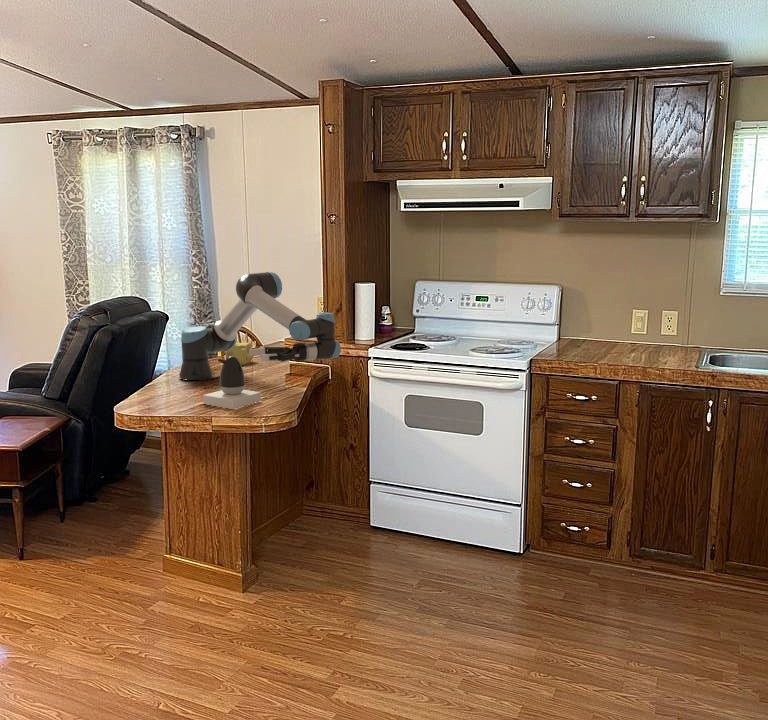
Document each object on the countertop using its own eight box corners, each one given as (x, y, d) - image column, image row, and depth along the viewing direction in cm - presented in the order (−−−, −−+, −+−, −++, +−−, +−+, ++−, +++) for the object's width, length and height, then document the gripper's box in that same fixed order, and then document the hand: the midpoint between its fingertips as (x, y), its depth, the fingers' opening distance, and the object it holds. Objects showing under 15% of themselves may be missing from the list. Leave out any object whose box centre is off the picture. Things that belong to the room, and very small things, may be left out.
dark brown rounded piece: (217, 392, 323) (215, 354, 320) (243, 390, 326) (241, 353, 324) (221, 397, 313) (220, 359, 311) (247, 395, 317) (246, 357, 314)
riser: (203, 404, 318) (203, 395, 317) (231, 397, 331) (230, 387, 331) (233, 410, 310) (233, 399, 309) (260, 401, 323) (260, 392, 322)
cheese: (244, 365, 403) (244, 345, 401) (224, 364, 405) (224, 344, 403) (252, 361, 413) (251, 342, 411) (232, 360, 415) (232, 341, 413)
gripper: (316, 366, 321) (265, 370, 311) (293, 355, 343) (245, 359, 333) (316, 347, 320) (265, 351, 310) (293, 338, 341) (245, 341, 331)
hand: (255, 355), depth 321 cm, fingers open, 13 cm apart
